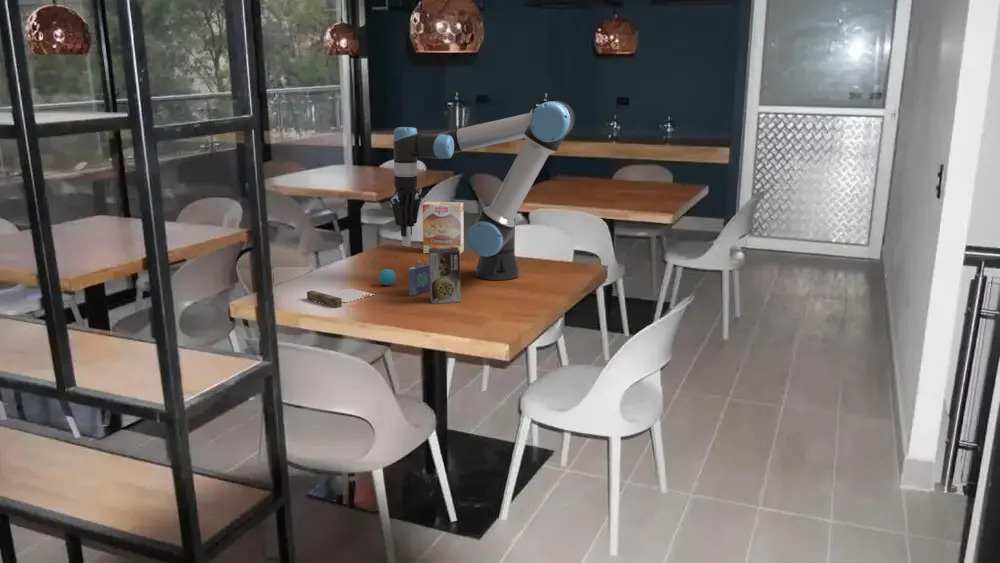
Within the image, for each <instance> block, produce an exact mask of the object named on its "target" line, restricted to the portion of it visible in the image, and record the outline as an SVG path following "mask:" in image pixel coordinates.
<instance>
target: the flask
mask: <svg viewBox="0 0 1000 563" xmlns="http://www.w3.org/2000/svg"><path fill="white" fill-rule="evenodd" d="M415 263H416V265H414V266H411V267H408V296H410V297H413V296H414V297H417V296H419V295H423V294H427V293H430V270H429V262H423V263H422V261H421V260H419V259H417V260H415Z"/></svg>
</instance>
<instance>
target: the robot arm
mask: <svg viewBox="0 0 1000 563" xmlns="http://www.w3.org/2000/svg"><path fill="white" fill-rule="evenodd" d="M575 120H576V116H575V113H574V109H573V108H572V107H571V106H570V105H569V104H568V103H566V102H564V101H561V100H552V101H551V100H550V101H546V102H543V103H540V104H539V105H538V106H537V107H536V108H532V109H531V110H530V111H529V112H528V113H522V114H519V115H515V116H510V117H509V116H508V117H506V118H502V119H501V118H500V119H497V120H493V121H488V122H483V123H480V124H479V123H477V124H474V125H471V126H466V127H465V126H464V127H461V128H457V129H453V130H452V129H451V130H446V131H443V132H439V133H435V134H422V133H421V134H420V133H418V131H417V130H418V129H417V128H416V127H410V126H409V127H407V126H400V127H399V126H398V127H396V128H395V129H394V130H393V140H392V141H393V168H394V169H393V172H394V176H393V179H394V180H393V181H394V182H393V184H394V187H395V192H394V195H393V197H389V199H388V200H389V202H390V204H391V206H392V210H393V211H392V212H393V218H394V221H395V225H396V226H398V227H400V236H401V237H402V238H401V245H402V247H403V246H405V247H411V246H412V234H413V227H415V225H416V224H417V223H418V222H417V221H418V216H419V212H420V204H421V200H422V198H423V195H422V194H419V193H418V192H417V187H418V176H417V175H418V158H420V159H421V158H422V159H423V158H426V159H427V158H428V159H439V160H442V159H443V160H444V159H451V158H452V157H453V155H454V154H456V153H459V152H464V151H465V152H466V151H470V150H475V149H479V148H484V147H488V146H492V145H498V144H502V143H506V142H512V141H517V140H523V139H524V140H525V141H524V143H523V145H522V146H521V149H519V152H518V153H517V156H516V157H515V159H514V161H513V163H512V165H511V167H510V169H509V171H508V172H507V174H506V176H505V178H504V180H503V181H502V183H501V185H500V187H499V189H498V190H497V193H496V194H495V196H494V198H493V199H492V201H491V204H490V205H488V206H485V207H483V208H482V210H481V212H480V214H479V216H478V217H477V219H476V221H475V222H474V223H473V224H472V225H471V226H470V227H469V229H468V233H467V242H468V246H469V247H470V249H471V250H472V251H473V252H474V253H475V254H476V255H477V256H478V255H479V258H478V261H477V266H476V268H475V276H476V277H477V278H479V279H481V280H482V279H483V280H488V281H508V280H509V281H510V280H513V279H517V278H519V277H520V267H519V265H518V260H517V257H516V255H515V253H516V250H515V248H516V246H515V245H516V242H515V240H516V215H517V213H518V211H519V209H520V207H521V206H522V204H523V203H524V201H525V199H526V197H527V195H528V193H529V191H530V190H531V188H532V186H533V184H534V182H535V181H536V178H537V177H538V176H539V174H540V171H541V170H542V169H543V167H544V165H545V163H546V161H547V159H548V158H549V156H550V155H551V154H555V153H557V151H558V150H559V147H560V146H561V144H562V142H563V141H564V139H565V137H566V135H568V134H570V132H571V131H572V130H573V127H574V126H575ZM518 276H519V277H518ZM516 277H517V278H516Z"/></svg>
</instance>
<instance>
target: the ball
mask: <svg viewBox="0 0 1000 563" xmlns="http://www.w3.org/2000/svg"><path fill="white" fill-rule="evenodd" d="M396 278H397V275H396V272H394V270H393V269H391V268H385V269H383V270H381V271H380V273H379V274H378V279H379V282H380V283H381V284H382V285H384V286H387V287H388V286H391V285H393V284H394V283H395V282H396Z"/></svg>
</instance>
